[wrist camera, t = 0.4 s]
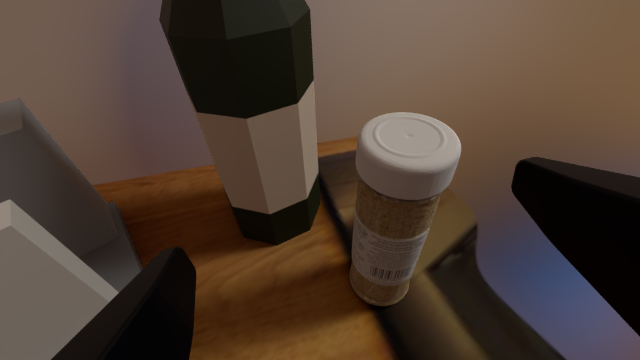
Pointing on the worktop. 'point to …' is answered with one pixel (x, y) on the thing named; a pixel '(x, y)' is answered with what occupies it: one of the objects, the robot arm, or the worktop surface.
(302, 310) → the worktop surface
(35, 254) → the white tall block
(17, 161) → the base
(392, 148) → the sprinkles bottle
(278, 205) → the wine bottle
